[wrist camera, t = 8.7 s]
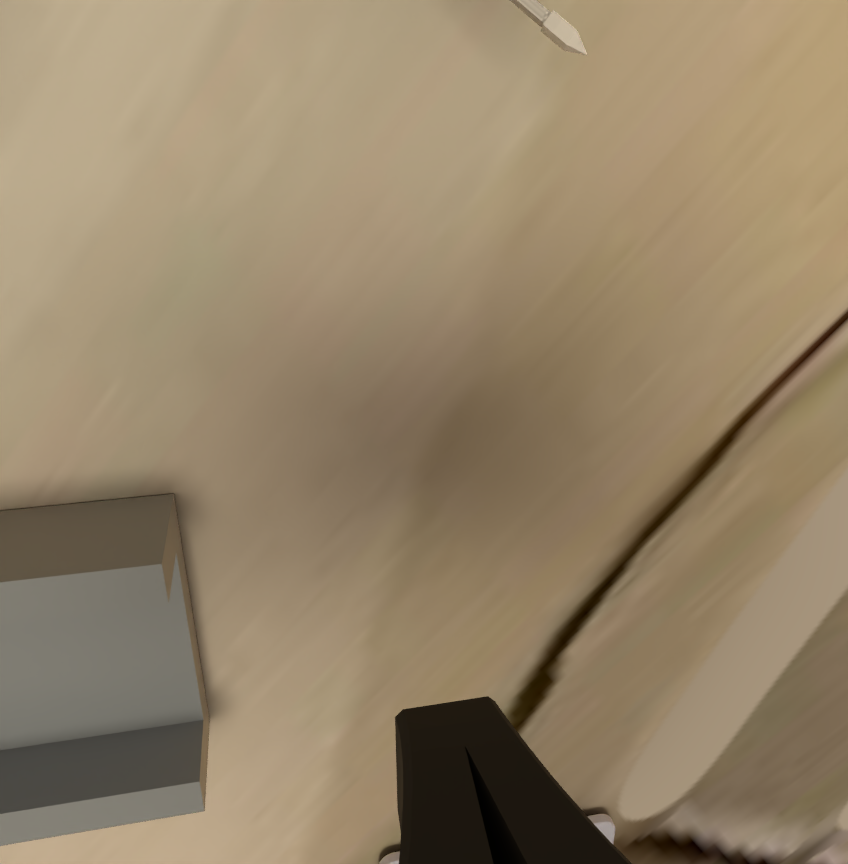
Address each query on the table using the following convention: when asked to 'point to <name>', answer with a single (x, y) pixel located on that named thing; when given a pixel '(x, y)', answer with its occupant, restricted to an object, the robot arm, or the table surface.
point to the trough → (97, 670)
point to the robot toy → (553, 26)
